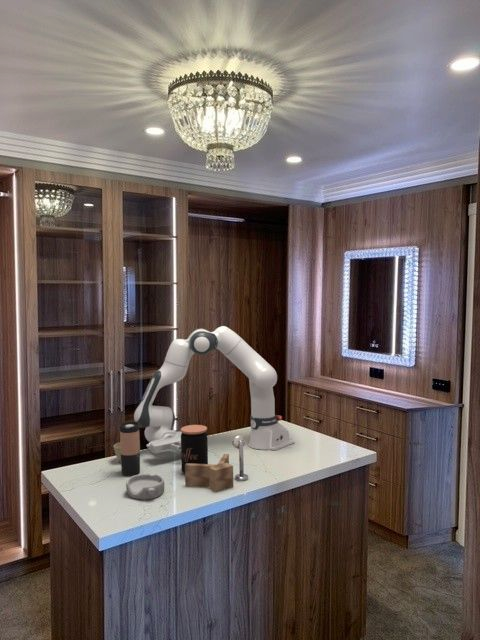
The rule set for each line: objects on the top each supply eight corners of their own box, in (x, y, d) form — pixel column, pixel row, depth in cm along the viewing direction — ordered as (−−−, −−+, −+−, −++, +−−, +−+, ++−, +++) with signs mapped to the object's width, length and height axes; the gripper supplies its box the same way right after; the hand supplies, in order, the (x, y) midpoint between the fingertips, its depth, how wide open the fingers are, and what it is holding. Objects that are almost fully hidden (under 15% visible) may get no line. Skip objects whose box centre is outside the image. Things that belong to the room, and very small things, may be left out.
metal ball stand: (243, 475, 191) (242, 434, 190) (250, 479, 186) (250, 437, 186) (232, 478, 188) (231, 436, 187) (240, 482, 184) (239, 439, 183)
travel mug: (134, 468, 200) (132, 420, 199) (144, 473, 195) (142, 424, 193) (117, 473, 195) (116, 424, 194) (127, 478, 189) (126, 428, 188)
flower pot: (131, 465, 203) (131, 449, 203) (109, 464, 205) (109, 447, 205) (141, 457, 213) (140, 441, 213) (120, 456, 215) (119, 440, 215)
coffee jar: (176, 472, 194) (175, 428, 193) (195, 465, 202) (195, 423, 201) (193, 479, 187) (192, 433, 186) (213, 471, 195) (212, 427, 194)
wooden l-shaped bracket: (227, 472, 193) (226, 453, 193) (246, 482, 183) (245, 462, 182) (183, 484, 182) (183, 464, 181) (201, 496, 171) (200, 474, 171)
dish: (157, 502, 168) (157, 488, 167) (119, 500, 170) (119, 486, 170) (170, 485, 182) (170, 472, 182) (135, 484, 184) (135, 471, 184)
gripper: (144, 437, 208) (158, 445, 197) (186, 429, 220) (201, 436, 209) (144, 452, 209) (158, 460, 198) (186, 442, 221) (201, 450, 209)
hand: (181, 448), depth 203 cm, fingers closed
